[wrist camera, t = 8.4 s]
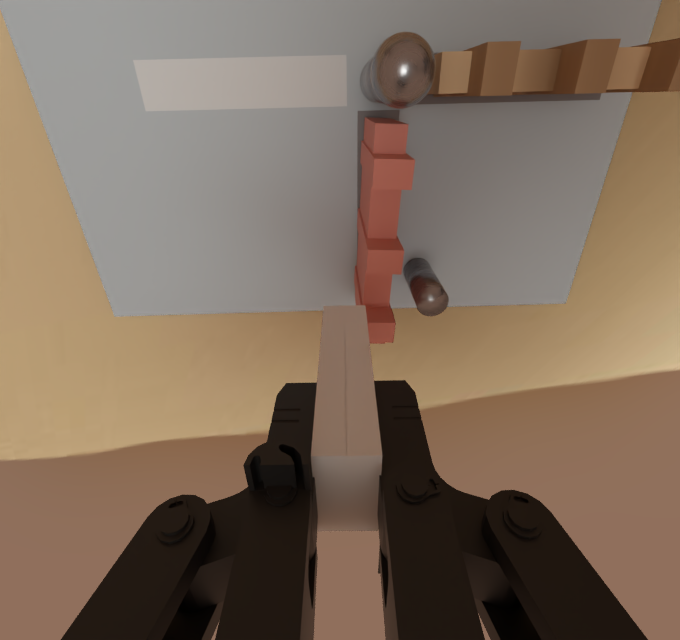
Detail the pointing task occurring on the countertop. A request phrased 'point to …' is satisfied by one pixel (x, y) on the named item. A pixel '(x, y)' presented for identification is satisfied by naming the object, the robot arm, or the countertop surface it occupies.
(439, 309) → the peg
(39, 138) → the countertop surface
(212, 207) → the card
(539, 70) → the fence fixed
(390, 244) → the fence panel
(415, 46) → the post
